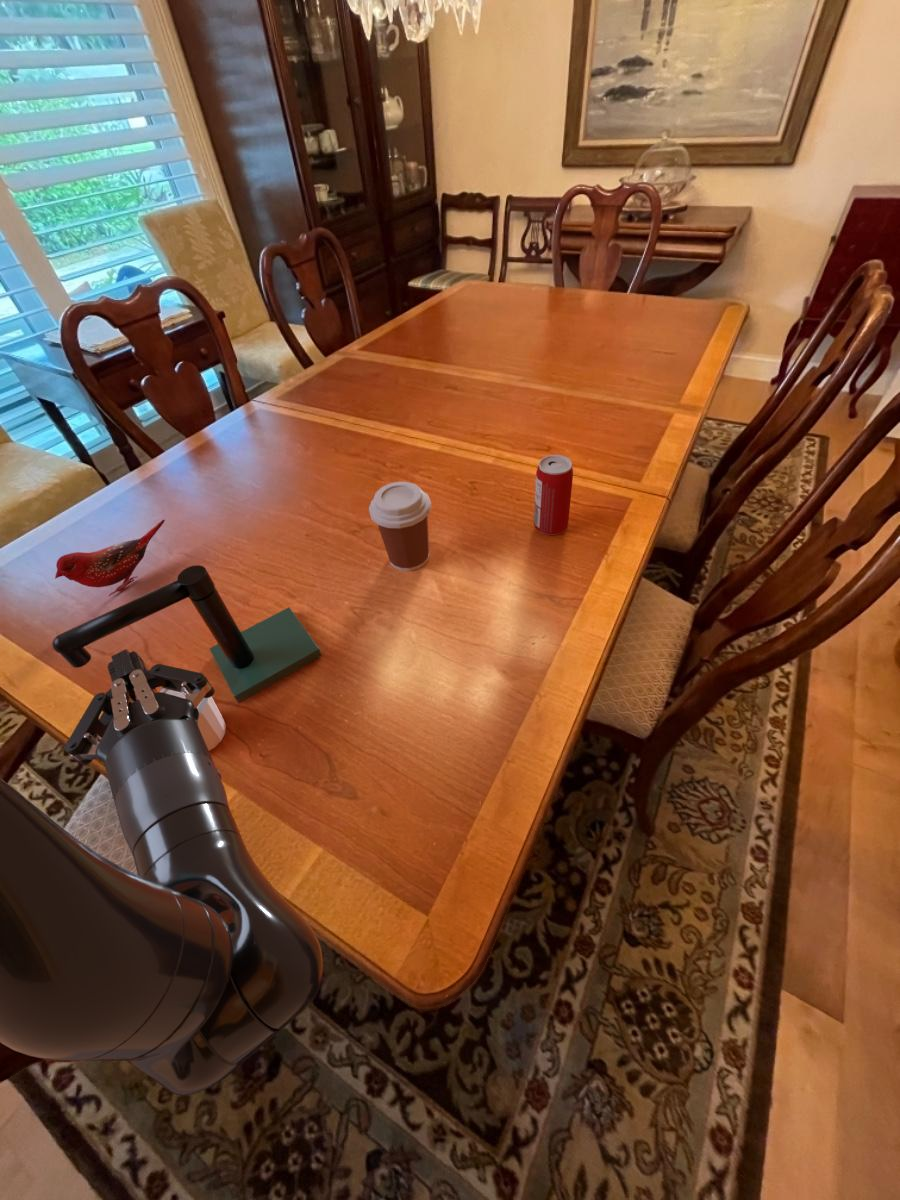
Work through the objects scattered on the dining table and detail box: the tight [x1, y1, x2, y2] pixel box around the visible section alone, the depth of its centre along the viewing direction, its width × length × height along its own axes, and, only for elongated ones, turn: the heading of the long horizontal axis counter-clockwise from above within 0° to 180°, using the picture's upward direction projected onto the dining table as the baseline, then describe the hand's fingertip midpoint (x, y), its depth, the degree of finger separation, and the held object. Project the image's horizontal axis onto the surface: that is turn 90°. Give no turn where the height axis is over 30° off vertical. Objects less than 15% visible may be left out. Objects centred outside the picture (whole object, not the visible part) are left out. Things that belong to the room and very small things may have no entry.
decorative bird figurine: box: [54, 519, 166, 597], centre depth 83 cm, size 3×18×10 cm, turn 146°
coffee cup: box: [368, 481, 432, 572], centre depth 81 cm, size 9×9×12 cm
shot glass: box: [159, 687, 227, 752], centre depth 63 cm, size 7×7×7 cm
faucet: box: [189, 586, 323, 704], centre depth 68 cm, size 12×10×15 cm
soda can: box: [533, 454, 574, 536], centre depth 83 cm, size 6×6×12 cm
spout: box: [52, 564, 216, 669], centre depth 59 cm, size 17×3×4 cm, turn 126°
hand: (123, 657), depth 54 cm, fingers closed
